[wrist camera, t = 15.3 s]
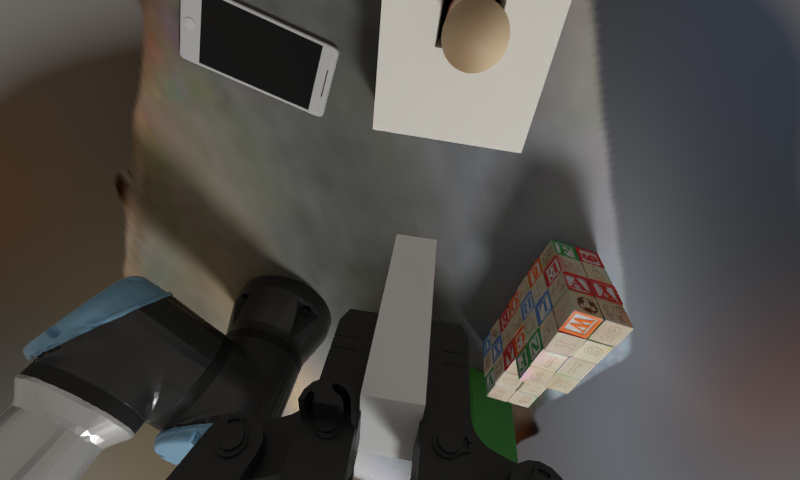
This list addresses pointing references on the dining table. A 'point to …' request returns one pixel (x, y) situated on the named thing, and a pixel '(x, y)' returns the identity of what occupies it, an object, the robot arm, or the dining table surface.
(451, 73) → the hole board
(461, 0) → the beech peg
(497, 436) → the hardback book
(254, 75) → the smartphone
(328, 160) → the dining table surface
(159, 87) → the dining table surface
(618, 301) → the stack of blocks
